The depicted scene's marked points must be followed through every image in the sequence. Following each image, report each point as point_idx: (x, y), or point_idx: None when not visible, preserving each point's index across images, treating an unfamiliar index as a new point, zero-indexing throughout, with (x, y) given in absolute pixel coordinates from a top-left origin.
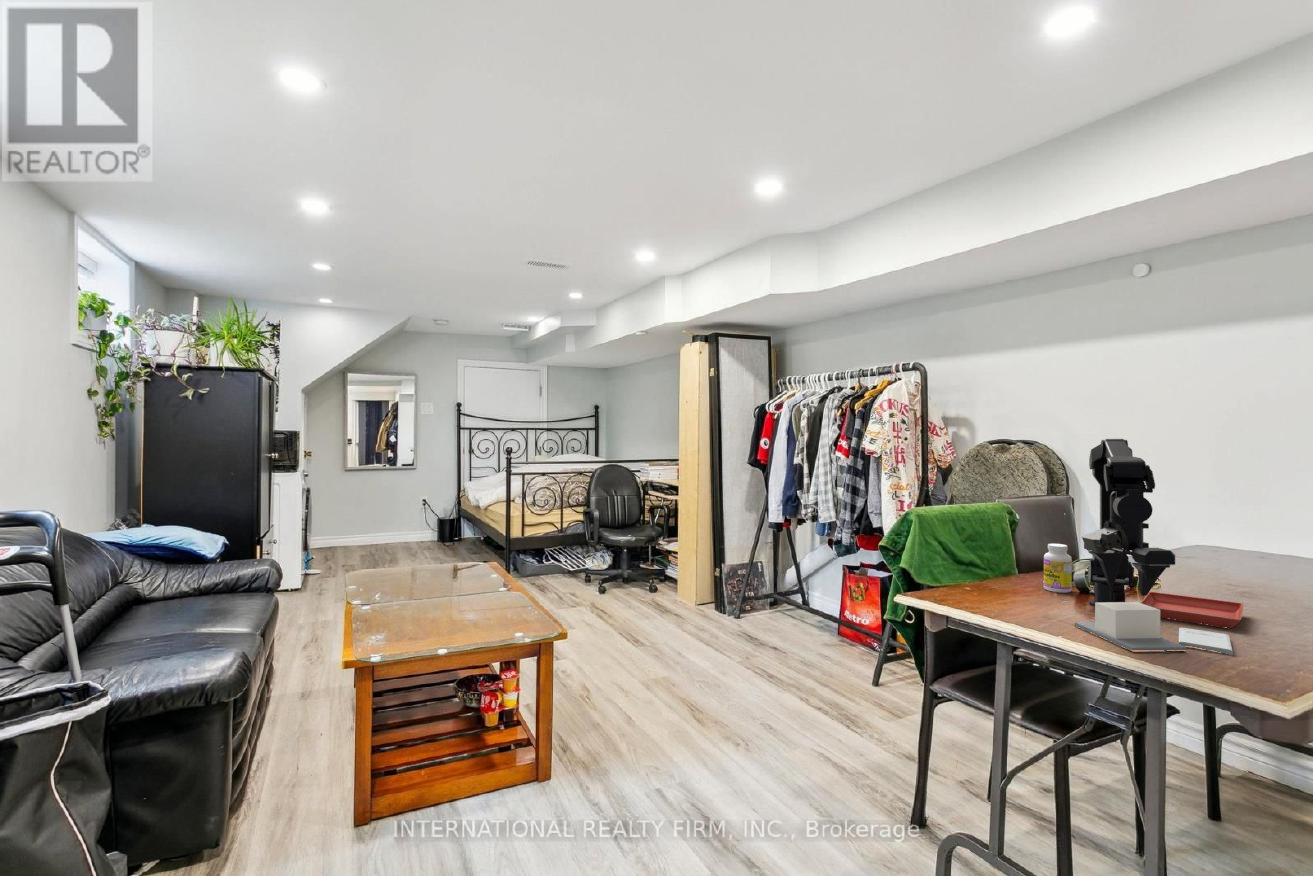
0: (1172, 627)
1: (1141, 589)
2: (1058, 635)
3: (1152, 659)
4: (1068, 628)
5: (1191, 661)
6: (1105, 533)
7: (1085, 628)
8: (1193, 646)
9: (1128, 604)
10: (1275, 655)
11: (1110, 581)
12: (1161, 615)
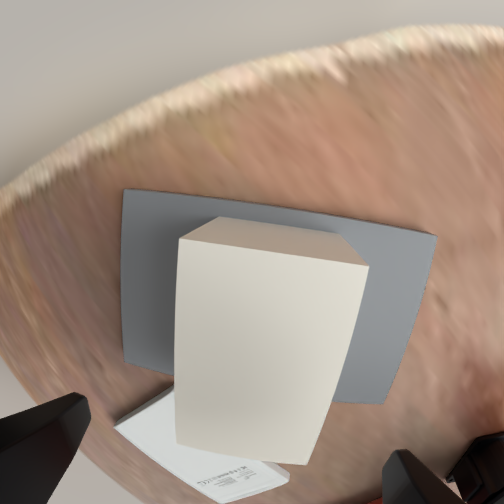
0: (322, 481)
1: (47, 407)
2: (347, 75)
3: (82, 202)
4: (418, 189)
5: (70, 296)
6: None
7: (376, 223)
8: (154, 399)
9: (280, 409)
10: (128, 472)
11: (396, 472)
12: (379, 502)
